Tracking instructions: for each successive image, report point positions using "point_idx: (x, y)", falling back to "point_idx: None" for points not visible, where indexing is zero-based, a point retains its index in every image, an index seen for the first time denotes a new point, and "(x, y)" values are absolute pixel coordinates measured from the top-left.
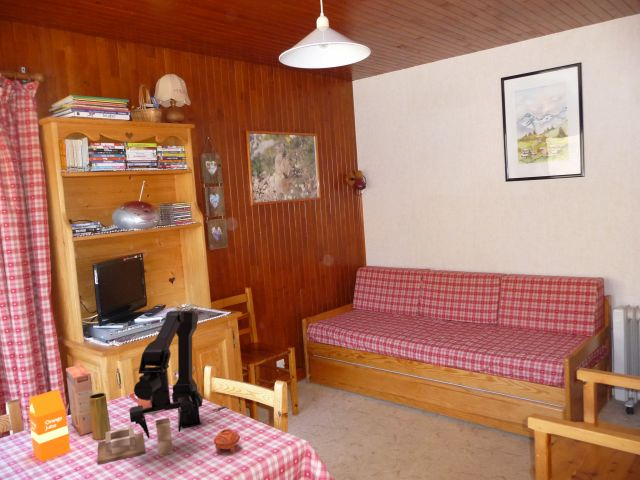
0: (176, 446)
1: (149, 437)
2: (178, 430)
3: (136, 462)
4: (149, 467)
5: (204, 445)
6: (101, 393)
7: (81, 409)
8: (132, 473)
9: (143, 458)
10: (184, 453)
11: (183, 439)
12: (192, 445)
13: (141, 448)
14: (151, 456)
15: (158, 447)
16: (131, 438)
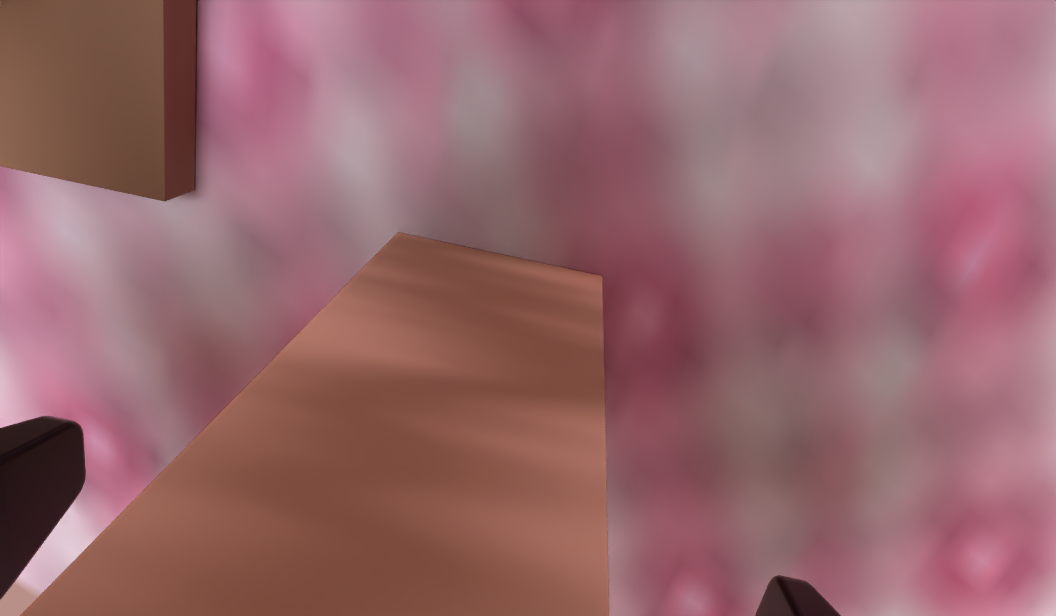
0: (681, 279)
1: (59, 518)
2: (770, 607)
3: (64, 358)
4: None
5: (1021, 530)
6: None
7: None
8: (26, 568)
9: (158, 312)
10: (684, 548)
11: (901, 96)
12: (891, 417)
13: (105, 61)
14: (269, 332)
15: (380, 254)
16: None
